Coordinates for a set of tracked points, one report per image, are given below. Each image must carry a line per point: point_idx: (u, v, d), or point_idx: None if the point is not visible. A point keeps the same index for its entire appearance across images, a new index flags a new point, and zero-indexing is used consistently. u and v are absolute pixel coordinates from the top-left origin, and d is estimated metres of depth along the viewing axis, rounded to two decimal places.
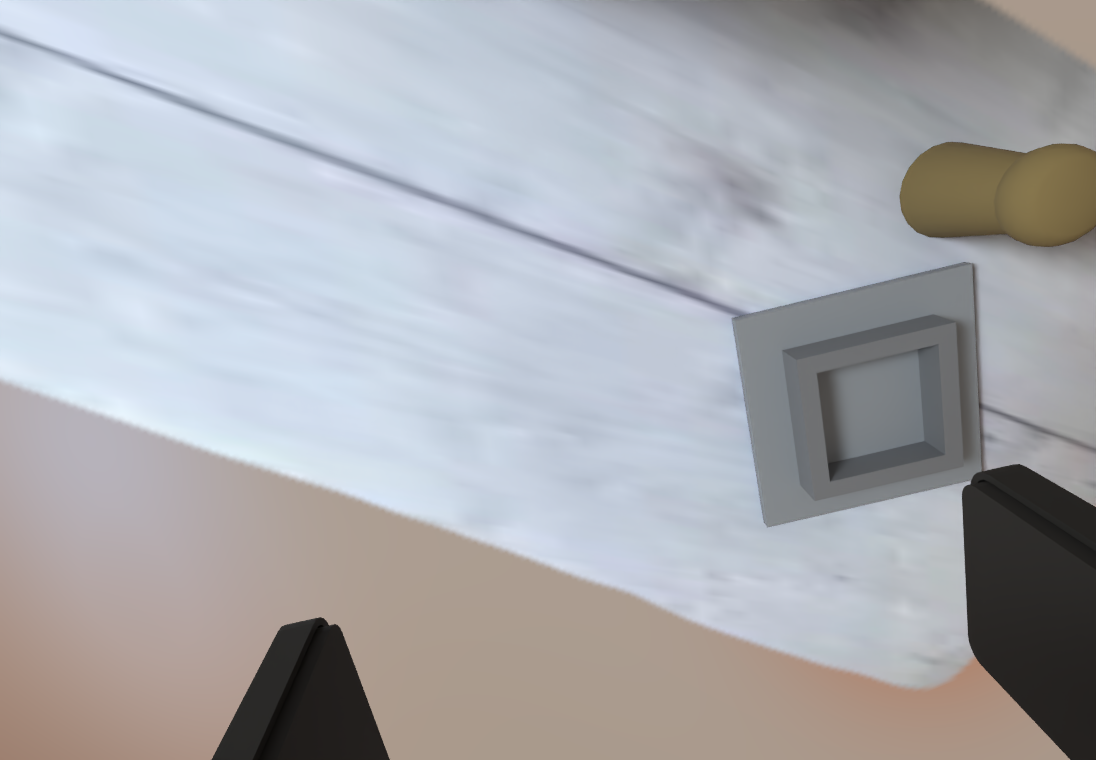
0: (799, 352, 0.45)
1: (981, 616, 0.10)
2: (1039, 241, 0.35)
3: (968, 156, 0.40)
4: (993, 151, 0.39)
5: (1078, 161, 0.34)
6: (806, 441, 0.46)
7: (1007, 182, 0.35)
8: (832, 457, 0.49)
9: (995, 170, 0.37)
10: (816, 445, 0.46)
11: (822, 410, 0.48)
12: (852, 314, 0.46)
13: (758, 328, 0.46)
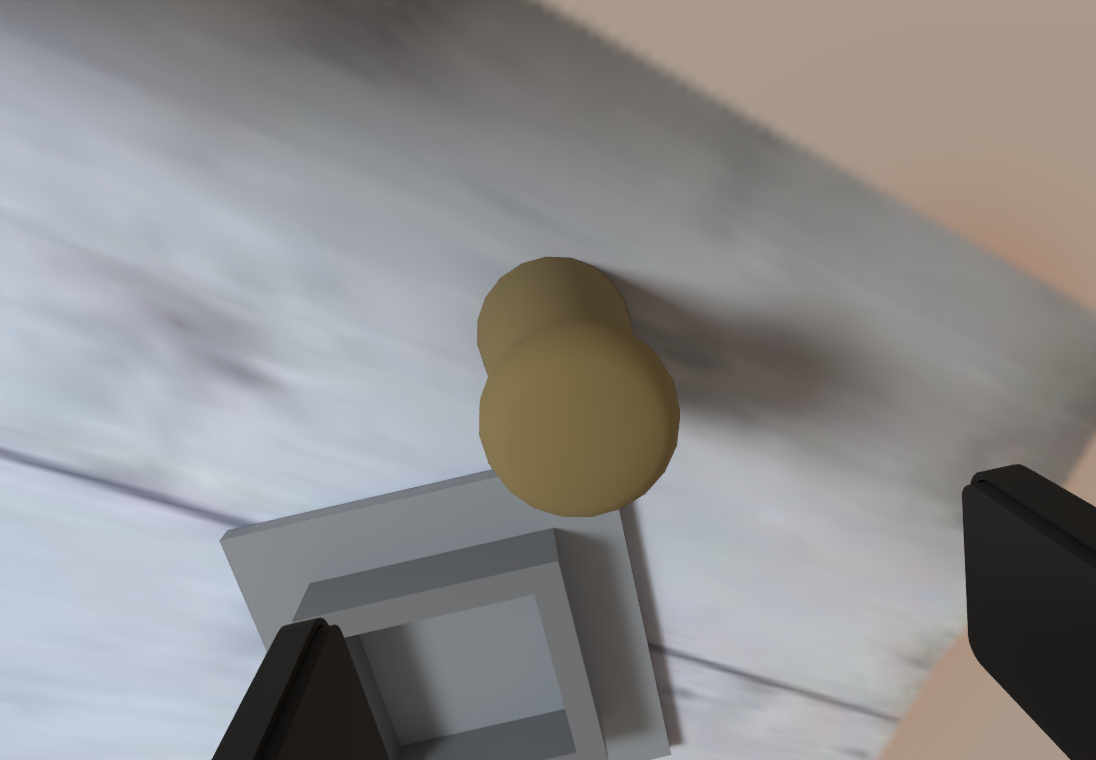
0: (317, 598, 0.27)
1: (980, 616, 0.10)
2: (547, 511, 0.18)
3: (519, 302, 0.22)
4: (548, 298, 0.21)
5: (576, 371, 0.16)
6: None
7: (483, 392, 0.17)
8: (426, 732, 0.31)
9: None
10: None
11: (396, 668, 0.30)
12: (419, 529, 0.28)
13: (261, 551, 0.28)
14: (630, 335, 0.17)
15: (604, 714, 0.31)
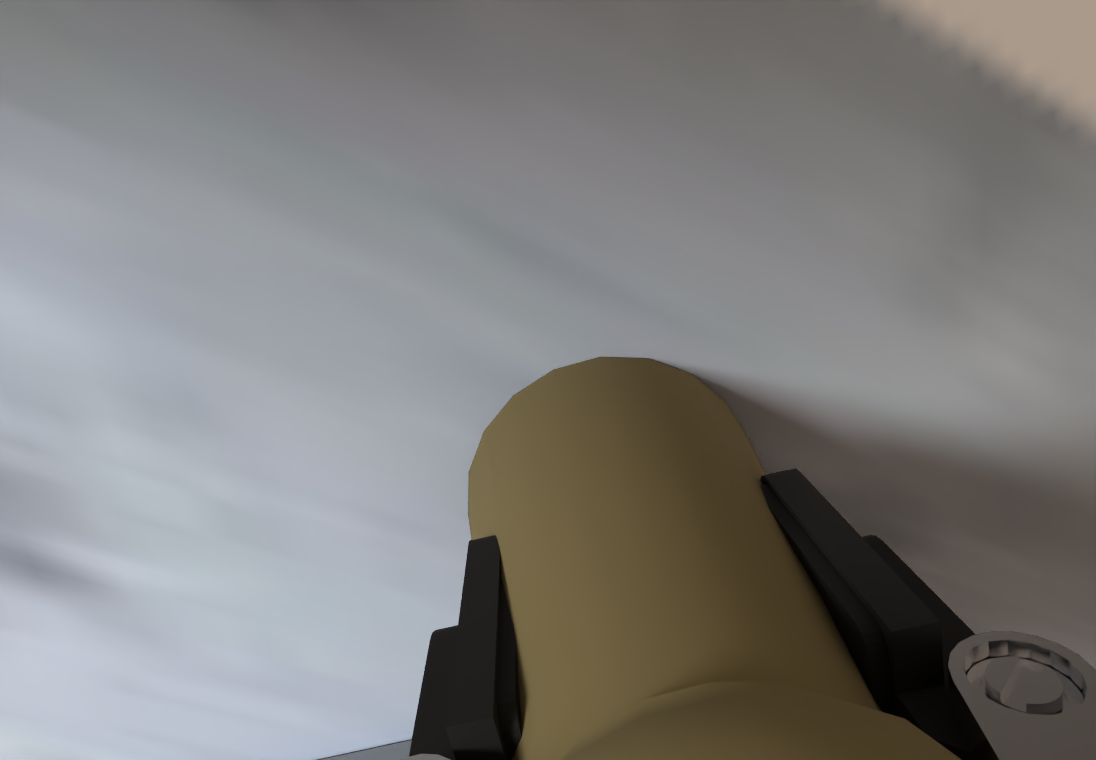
0: None
1: None
2: None
3: (559, 494, 0.10)
4: (630, 502, 0.09)
5: None
6: None
7: None
8: None
9: (550, 687, 0.07)
10: None
11: None
12: None
13: None
14: None
15: None
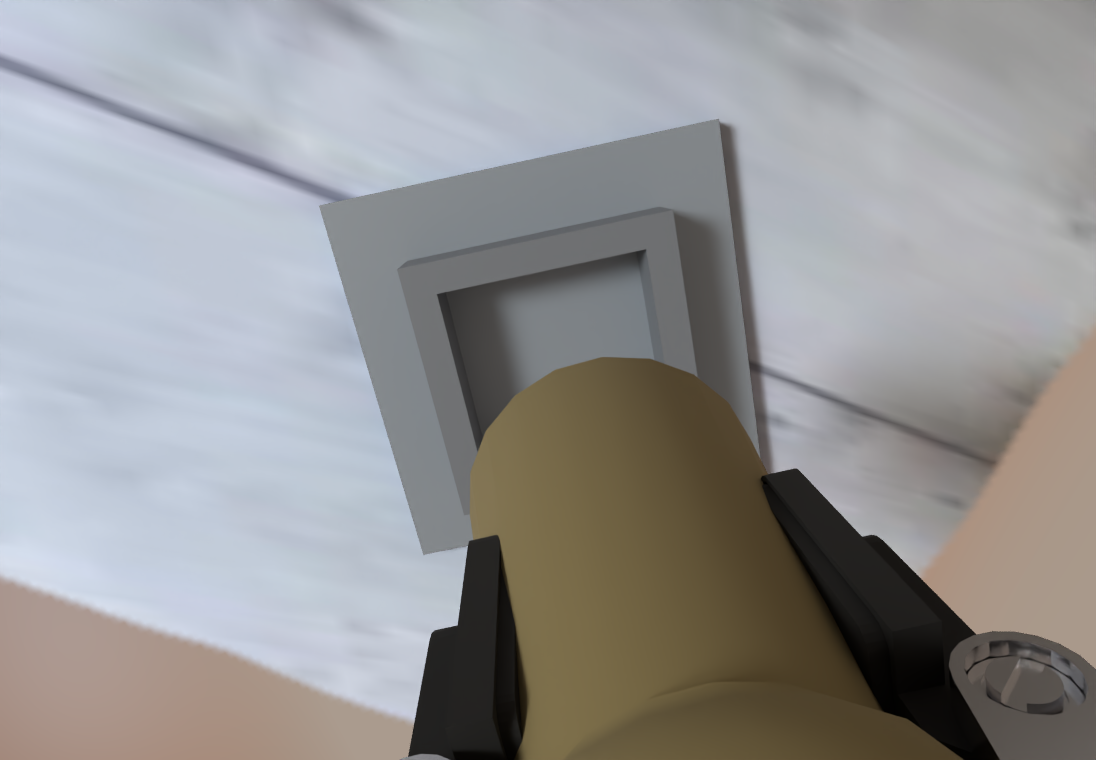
0: (418, 261, 0.26)
1: None
2: None
3: (560, 494, 0.10)
4: (632, 503, 0.09)
5: None
6: (436, 413, 0.27)
7: None
8: None
9: (552, 687, 0.07)
10: (454, 421, 0.27)
11: (489, 366, 0.29)
12: (522, 201, 0.27)
13: (360, 221, 0.27)
14: None
15: None
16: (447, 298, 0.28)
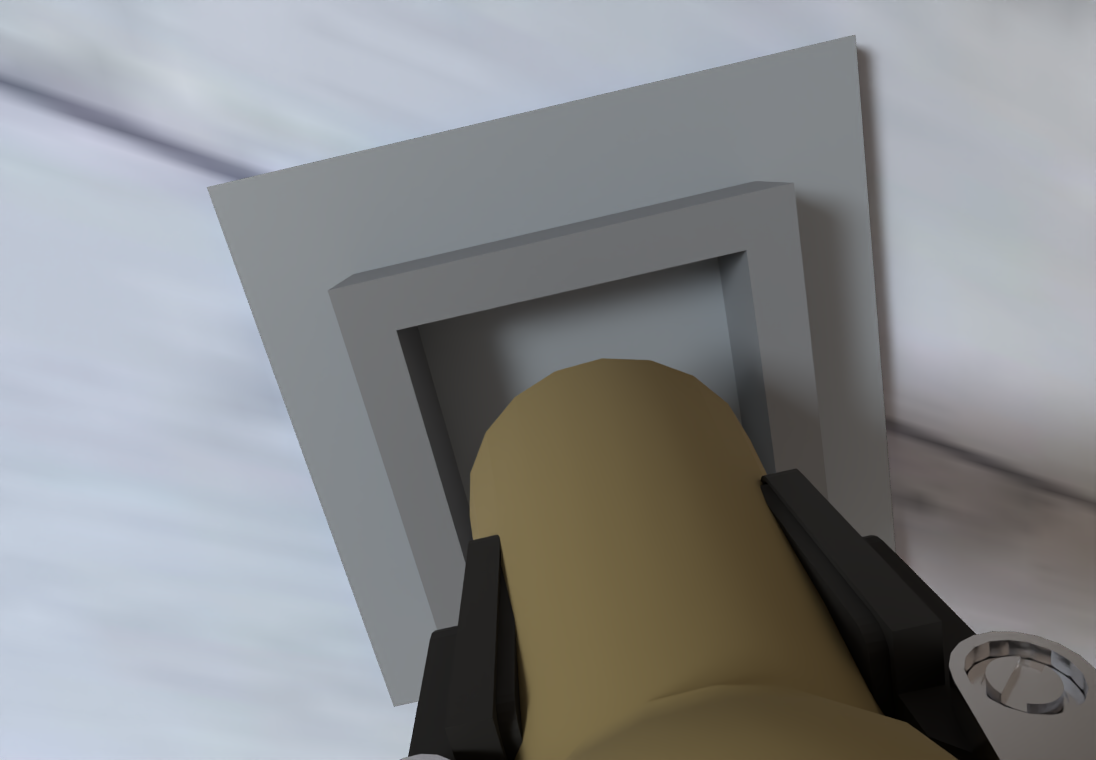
0: (368, 275, 0.16)
1: None
2: None
3: (560, 497, 0.10)
4: (632, 505, 0.09)
5: None
6: (402, 519, 0.17)
7: None
8: None
9: (552, 689, 0.07)
10: (431, 531, 0.17)
11: None
12: (535, 176, 0.17)
13: (275, 211, 0.17)
14: None
15: None
16: (419, 332, 0.18)
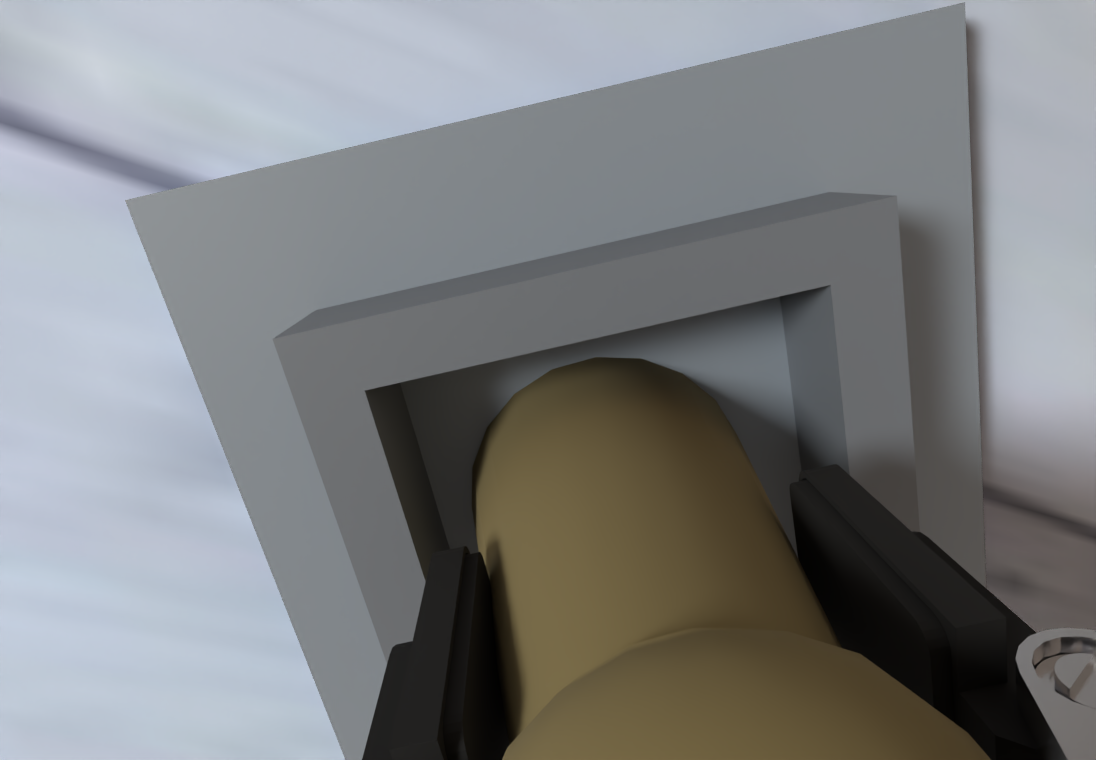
0: (331, 315, 0.12)
1: None
2: None
3: (556, 478, 0.10)
4: (622, 483, 0.10)
5: None
6: (375, 628, 0.13)
7: None
8: None
9: (548, 642, 0.08)
10: None
11: None
12: (547, 186, 0.13)
13: (214, 231, 0.13)
14: (945, 743, 0.05)
15: None
16: (399, 382, 0.14)
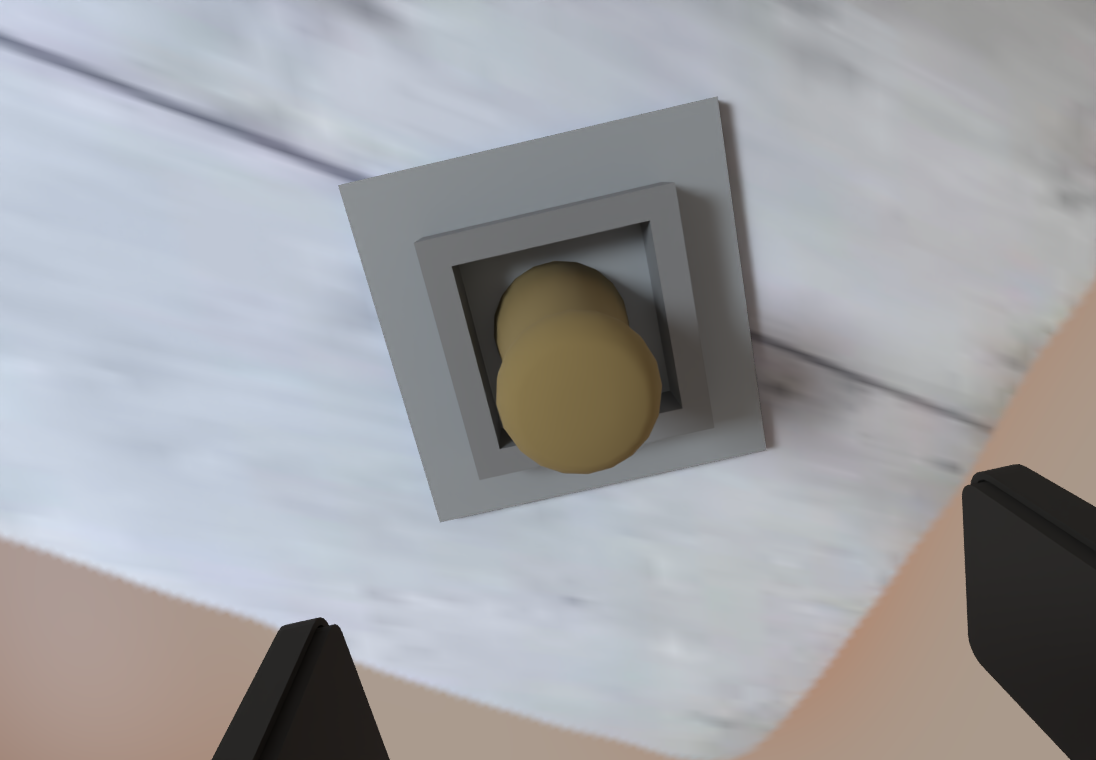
0: (433, 236, 0.28)
1: (981, 617, 0.10)
2: (551, 468, 0.21)
3: (531, 298, 0.26)
4: (555, 295, 0.25)
5: (576, 350, 0.20)
6: (452, 381, 0.28)
7: (500, 369, 0.21)
8: None
9: None
10: (469, 388, 0.28)
11: None
12: (530, 179, 0.28)
13: (377, 199, 0.28)
14: (621, 323, 0.21)
15: None
16: (460, 272, 0.29)
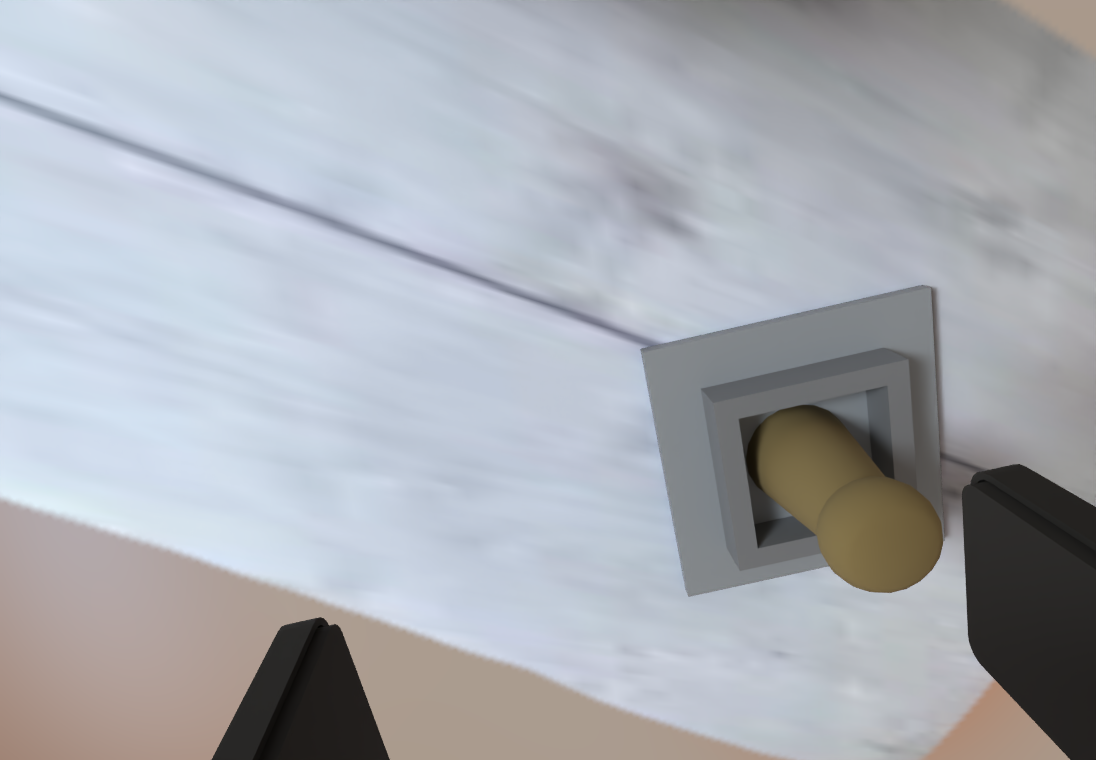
0: (718, 393, 0.37)
1: (980, 616, 0.10)
2: (861, 588, 0.31)
3: (805, 447, 0.35)
4: (830, 448, 0.34)
5: (897, 516, 0.29)
6: (728, 499, 0.38)
7: (825, 519, 0.30)
8: (765, 515, 0.41)
9: (823, 485, 0.33)
10: (740, 505, 0.38)
11: None
12: (786, 346, 0.38)
13: (670, 362, 0.38)
14: (916, 491, 0.30)
15: None
16: None
